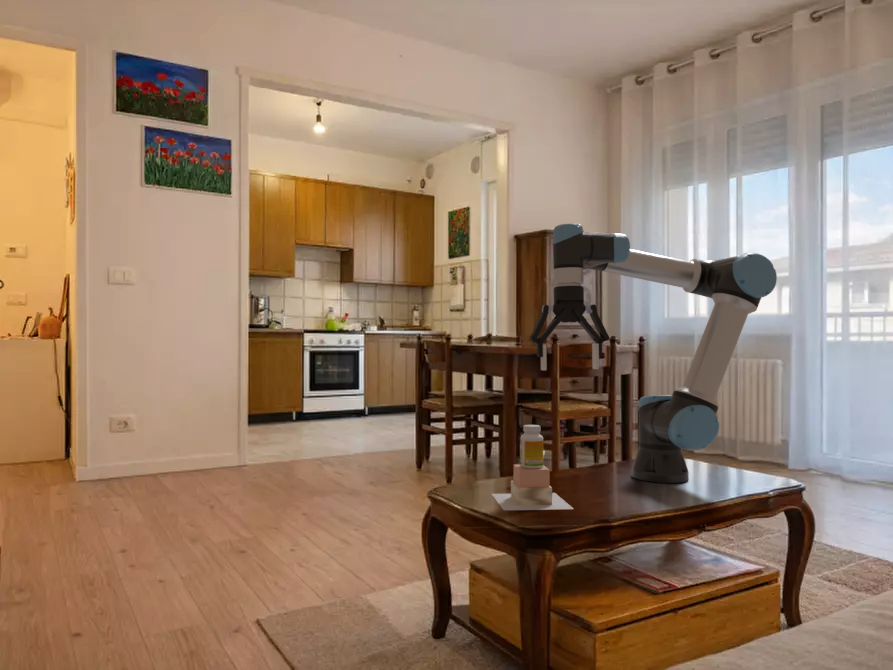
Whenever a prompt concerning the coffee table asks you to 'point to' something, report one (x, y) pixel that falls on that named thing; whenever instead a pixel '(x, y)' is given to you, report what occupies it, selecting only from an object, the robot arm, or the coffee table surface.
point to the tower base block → (531, 495)
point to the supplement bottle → (531, 447)
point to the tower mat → (509, 504)
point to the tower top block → (531, 476)
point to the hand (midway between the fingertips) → (569, 369)
